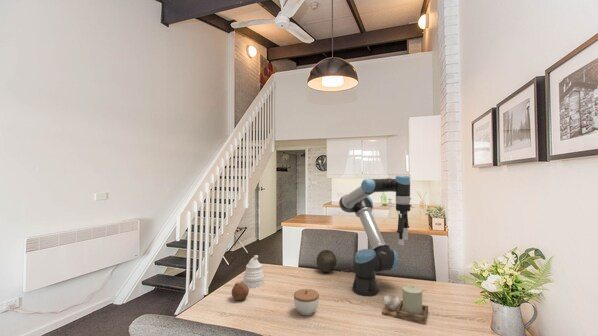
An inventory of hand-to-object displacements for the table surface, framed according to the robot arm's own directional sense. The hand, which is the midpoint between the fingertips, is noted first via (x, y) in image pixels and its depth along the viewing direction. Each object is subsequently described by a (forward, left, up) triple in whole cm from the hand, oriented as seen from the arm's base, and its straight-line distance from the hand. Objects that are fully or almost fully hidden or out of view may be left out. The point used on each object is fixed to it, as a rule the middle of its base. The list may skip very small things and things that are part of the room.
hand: (403, 242), depth 159 cm
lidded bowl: (-41, -37, -32) cm, 64 cm away
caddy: (+3, -15, -32) cm, 35 cm away
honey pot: (-87, -21, -32) cm, 95 cm away
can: (+7, -15, -31) cm, 35 cm away
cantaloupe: (-55, +20, -32) cm, 67 cm away
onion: (-80, -42, -32) cm, 96 cm away
